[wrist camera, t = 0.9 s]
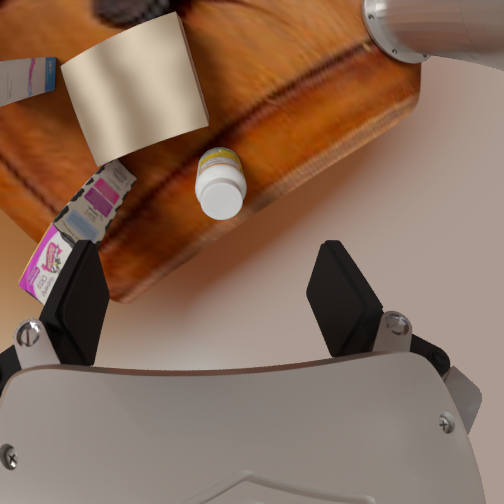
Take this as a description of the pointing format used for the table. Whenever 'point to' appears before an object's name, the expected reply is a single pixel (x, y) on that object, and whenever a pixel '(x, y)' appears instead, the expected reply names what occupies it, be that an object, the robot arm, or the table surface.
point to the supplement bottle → (220, 183)
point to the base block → (136, 89)
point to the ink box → (26, 78)
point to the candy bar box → (77, 226)
